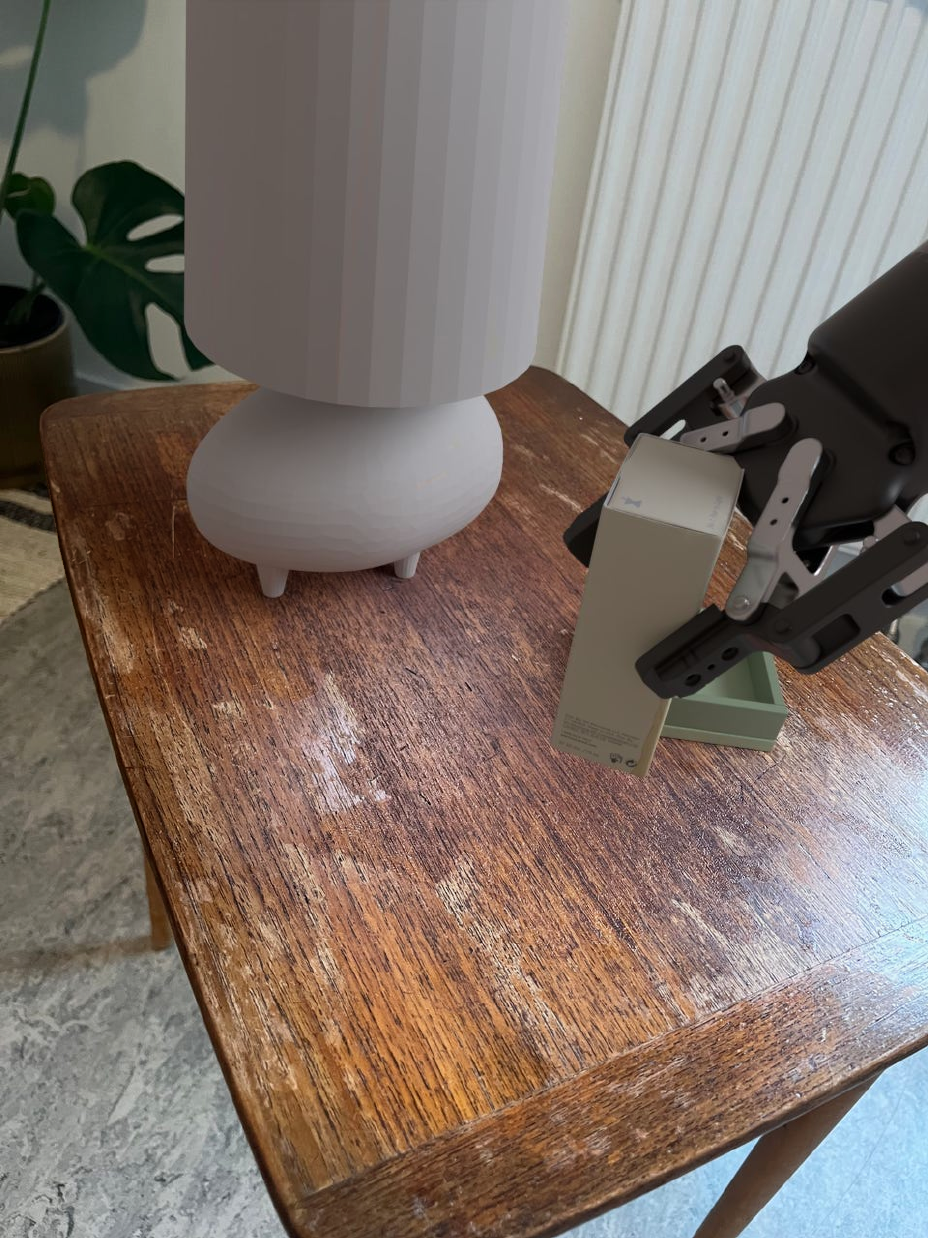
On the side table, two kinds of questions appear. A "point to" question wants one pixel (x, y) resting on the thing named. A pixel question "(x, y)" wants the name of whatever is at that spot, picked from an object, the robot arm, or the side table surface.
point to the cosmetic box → (641, 595)
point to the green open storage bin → (732, 708)
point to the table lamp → (362, 264)
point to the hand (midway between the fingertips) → (609, 614)
